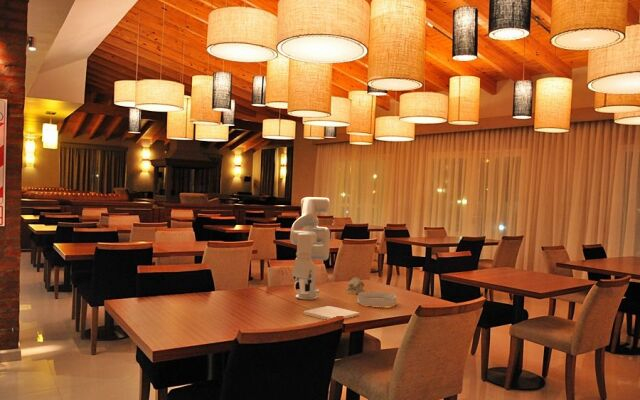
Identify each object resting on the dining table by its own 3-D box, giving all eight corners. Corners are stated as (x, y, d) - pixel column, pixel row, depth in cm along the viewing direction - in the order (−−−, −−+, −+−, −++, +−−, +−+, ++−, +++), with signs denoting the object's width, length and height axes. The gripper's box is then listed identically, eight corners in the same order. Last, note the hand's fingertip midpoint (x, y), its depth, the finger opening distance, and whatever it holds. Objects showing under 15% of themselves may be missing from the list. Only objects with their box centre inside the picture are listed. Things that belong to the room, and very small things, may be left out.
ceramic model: (342, 291, 328) (343, 275, 328) (357, 290, 333) (358, 274, 333) (354, 295, 316) (355, 279, 315) (370, 294, 321) (371, 278, 321)
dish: (373, 298, 310) (374, 290, 309) (404, 305, 294) (404, 296, 294) (348, 302, 294) (349, 294, 294) (379, 310, 278) (379, 300, 278)
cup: (313, 293, 275) (314, 278, 275) (298, 295, 269) (298, 280, 269) (306, 291, 281) (306, 276, 281) (290, 293, 275) (290, 278, 275)
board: (328, 308, 275) (328, 305, 275) (359, 315, 262) (359, 312, 262) (303, 314, 260) (303, 311, 260) (334, 321, 247) (334, 318, 247)
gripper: (287, 254, 277) (285, 288, 277) (311, 259, 265) (310, 294, 266) (296, 253, 282) (295, 286, 283) (321, 257, 271) (319, 292, 272)
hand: (302, 289), depth 275 cm, fingers closed on cup, 6 cm apart
